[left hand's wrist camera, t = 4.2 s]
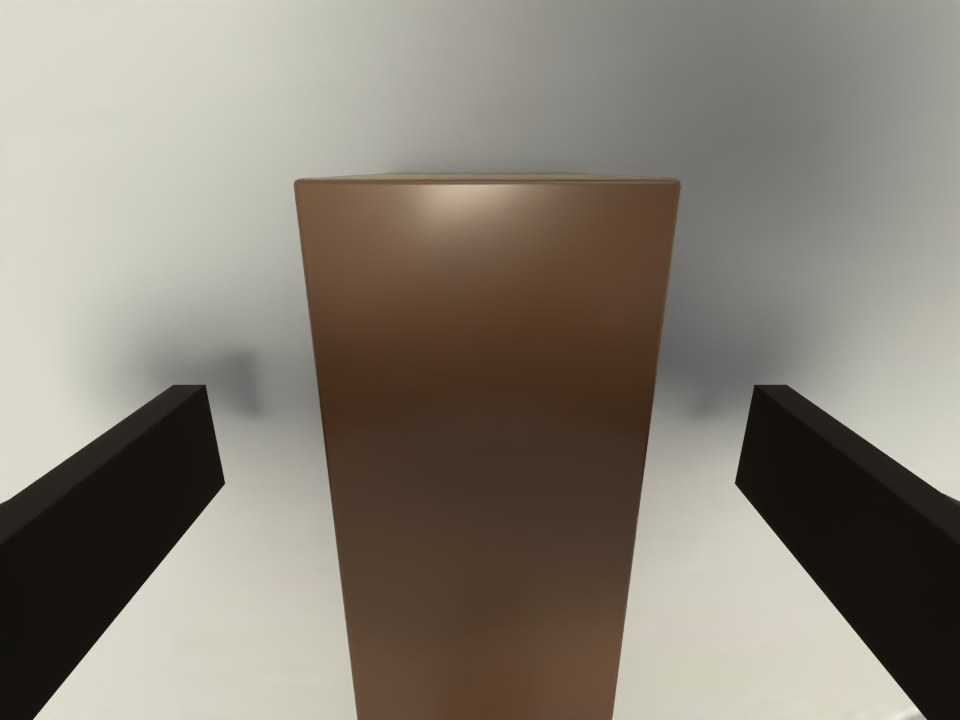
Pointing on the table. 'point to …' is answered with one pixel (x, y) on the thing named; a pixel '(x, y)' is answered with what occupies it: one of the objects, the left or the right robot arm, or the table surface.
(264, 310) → the table surface
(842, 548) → the left robot arm
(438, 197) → the bar
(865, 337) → the table surface
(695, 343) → the table surface
